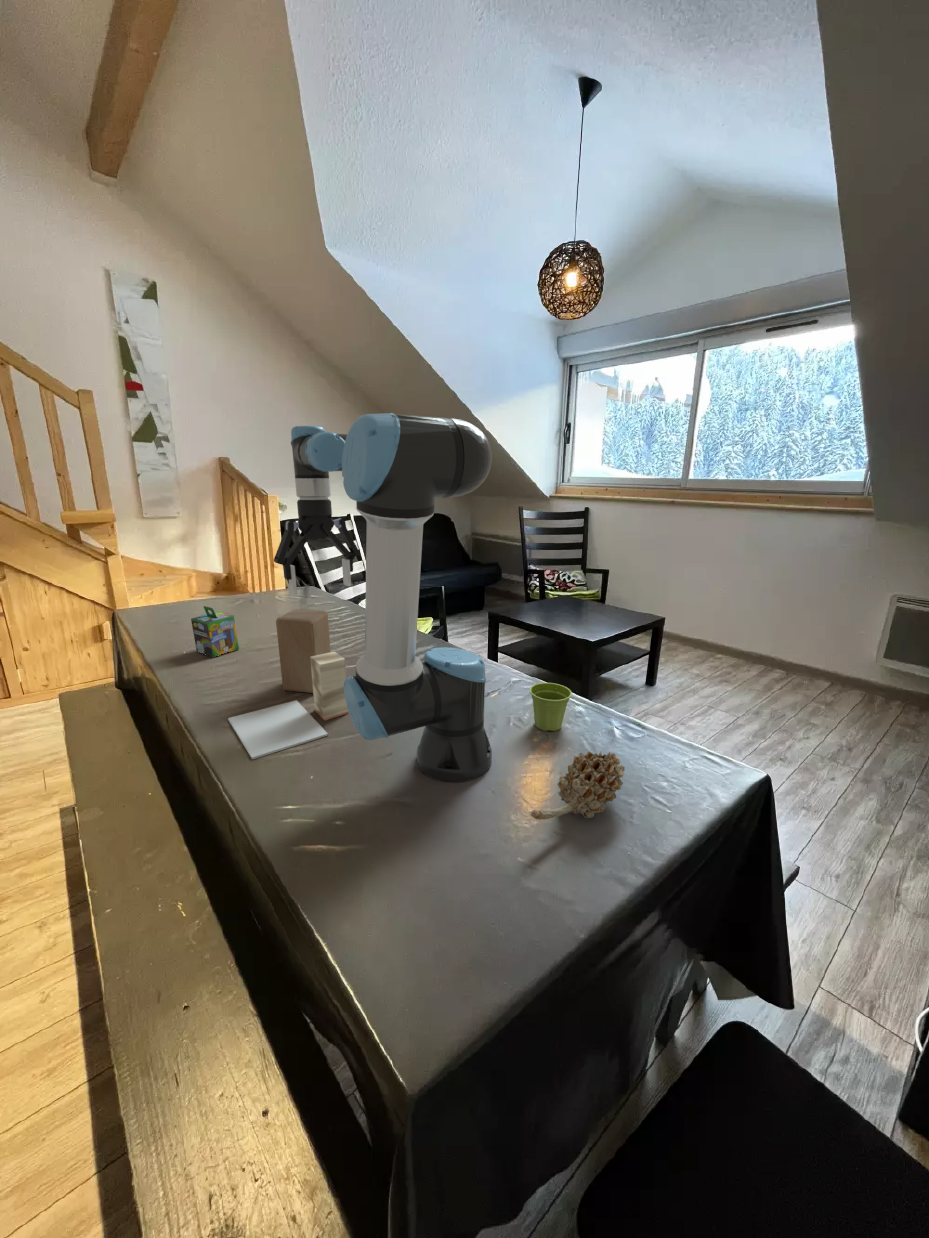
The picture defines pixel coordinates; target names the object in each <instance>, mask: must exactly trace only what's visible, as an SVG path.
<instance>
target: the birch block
mask: <svg viewBox="0 0 929 1238" xmlns="http://www.w3.org/2000/svg"><path fill="white" fill-rule="evenodd" d="M310 659H311V671H312V683H313V693H312V695H313V704H314V706H313V707H314V711H315V712H316V713H317V715H318V716H319V717H320V719H321V718H322V720H323V721H328V720H331V719H334V717H335V718H338V717H341V716H344V715H347V714H349V710H348V707H347V703H346V699H345V694H344V682H345V680H346V678H347V670H346V668H347V667H346V658H344V657H343V656H341V655H340V654H339V653H337V652H336V651H331V652H330V653H325V654H321V655H316V656H311V657H310Z"/></svg>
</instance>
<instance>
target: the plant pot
mask: <svg viewBox="0 0 929 1238" xmlns="http://www.w3.org/2000/svg"><path fill="white" fill-rule="evenodd" d="M572 692H573V691H572V690H571V689H570V688H568V687H567V686H565V685H562V684H558V683H553V682H539V683H536V684H533V685H531V686H530V688H529V693H530V695H531V699H532V705H533V718H534V725H535V727H536V728H537V729H539V730H542V731H545V732H547V731H552V732H556V731H558V730H560V729H561V728H562V726H563V721H564V717H565V713H566V709H567V705H568V703H569V701H570V699H571V697H572V695H573V693H572Z"/></svg>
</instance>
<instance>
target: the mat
mask: <svg viewBox="0 0 929 1238" xmlns="http://www.w3.org/2000/svg"><path fill="white" fill-rule="evenodd" d="M227 719H228V722H229V724H230V726H231V727H232V729H233V731H234V733H236V735H237V737H238V738H239V740H240V742H241V744H242V745H243V746H244V748H245V750H246V751H247V753H248V755H249V757H250V758H251V760H256V759H258V758H261V757H264V756H267V755H270V754H275V753H277V752H280V751H283V750H286V749H291V748H293V747H297V746H300V745H302V744H303V745H304V744H306V743H308V742H312V741H315V740H318V739H322V738H324V737H328V736H329V733H328V732H327V731H326V730H325V728H323V727H322V725H320V723H319V722H318V721H317V720H316V719H314V717H313V716H312V715H311V714H310V713H309V712H308V711H307V710H306V709H305V707H304V706H302V704H301V703H300V702H299V701H298V700H297V699H295V700H291V701H289V702H284V703H280V704H277V705H273V706H269V707H266V708H262V709H261V708H260V709H258V710H253V711H250V712H246V713H244V714H243V713H242V714H239V715H235V716H232V717H228V718H227Z"/></svg>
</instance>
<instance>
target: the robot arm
mask: <svg viewBox="0 0 929 1238" xmlns="http://www.w3.org/2000/svg"><path fill="white" fill-rule="evenodd" d="M290 431H291V433H290V435H291V436H290V437H291V439H290V440H291V441H290V445H291V451H292V462H293V472H294V483H295V492H296V497H297V498H299V499H297V500H296V505H297V515H298V521H296V522H295V521H290V520H287V521H285V522H284V532H283V535H282V537H281V540H280V542H279V545H278V547H277V550H276V553H275V556H274V557H273V558H274V559H273V562H274V563H275V564H278V565H282V567H283V578H284V580H286V581H288V587H289V589H288V590H289V593H290V594H293V595H297V594H298V589H297V579H296V578H297V577H296V566H295V565H293V564H292V563H293V562H294V561H295V559H296V557H298V555H299V553H300V552H301V551H302V549H303V548H304V546H305V544H307V542H308V541H316V540H317V541H318V540H326V539H327V540H328V541H329V542H330V543H331V544H332V545H333V546H334V547H335V548H336V549H337V551H339V553H340V554H341V555H342V556H344V558H341V567H342V569H341V570H342V580H343V581H342V582H343V583H342V584H343V585H344V586H346V587H352V580H351V578H352V577H351V572H352V573H353V571H354V562H353V561H354V560H355V558H356V557H358V556H360V555H361V553H360V550H359V549H358V547H357V545H356V543H355V540H353V537H352V536H351V534H350V532H349V530H348V528H347V524H346V519H345V518H341V517H337V518H336V519H333V511H332V501H331V500H330V498H329V497H331V483H330V473H331V472H341V476H342V478H343V481H342V483H343V487H344V490H345V493H346V495H347V497H348V498H349V499H350V500H353V501H354V502H356V503H355V507H356V511H357V512H358V513H359V514H360V515H361V516H362V517H363V518H364V519H365V521H366V536H365V537H366V543H365V544H366V545H365V546H366V547H365V614H364V615H365V618H364V619H365V621H364V623H365V626H364V627H365V629H364V654H363V655H362V656H361V657H359V658H358V660H357V661H356V663H355V676H353V675H350V676H349V677H346V680H345V682H344V694H345V699H346V703H347V707H348V714H349V715H350V718H351V720H352V723H353V725H354V727H355V729H356V731H357V733H358V734H359V735H360V736H361V737H362V738H363V739H365V740H367V741H373V740H378V739H384V738H385V739H388V738H389V737H391V736H395V735H398V734H401V733H405V732H409V731H412V730H415V729H420V728H424V729H423V732H422V735H421V739H420V742H419V744H418V746H417V749H416V764H417V766H418V768H419V770H420V771H422V772H423V774H425V775H426V776H428V777H430V778H432V779H434V780H438V781H441V782H450V783H455V782H456V783H458V782H466V781H471V780H473V779H476V778H479V777H480V776H483V775H484V774H485V773H486V772H488V771H489V769H490V768H491V765H492V758H493V756H492V755H493V753H492V752H493V750H492V746H491V744H490V740H489V737H488V735H487V731H486V729H485V701H486V700H485V699H486V698H485V695H486V693H485V691H486V681H487V678H486V665H485V662H484V660H483V659H482V658H481V656H479V655H478V654H476V653H474V652H472V651H470V650H466V649H462V648H457V647H444V646H443V647H442V646H441V647H434V648H430V649H427V651H425V652H424V656H423V661H422V660H421V659H420V658H419V657H418V656H416V650H417V649H416V648H417V632H418V631H417V630H418V616H419V601H420V600H419V599H420V586H421V585H420V584H421V565H422V551H423V534H424V524H425V523H426V522H427V521H428V520H430V519H431V518H432V517H434V514H435V503H436V499H445V498H448V499H449V498H457V497H461V496H462V497H463V496H465V495H467V494H470V493H472V492H473V491H475V490H477V489H478V488H479V487H481V485H482V484H483V483H484V482H485V480H486V479H487V478H488V475H489V473H490V471H491V467H492V461H493V456H492V455H493V453H492V449H491V445H490V442H489V440H488V438H487V436H486V434H484V433H483V431H482V430H481V429H480V428H479V427H477V426H476V425H474V424H472V423H471V422H468V421H466V420H464V419H459V418H455V417H438V416H427V415H426V416H425V415H411V414H399V413H393V412H390V413H388V412H386V413H366V414H362V415H361V416H359V417H358V418H356V419H355V421H353V423H352V424H351V427H350V428H349V430H348V432H347V433H335V432H332V431H326V429H325V428H324V427H322V426H317V425H297V426H296V425H295V426H293V427H292V428H291V430H290ZM329 472H330V473H329ZM334 526H335V528H336V529H337V530H338V532H339V534H340V536H341V537H342V539H343V541H344V543H345V545H346V546H345V545H344V543H342V542H341V541H340V540H339V538H338V537H337V535H335V533H334V532H333V531H332V530H333V528H334ZM297 528H298V530H299V531H300V533H299V535H298V536H297V538H296V541H294V543H293V544H292V546H291V548H290V549H289V547H290V544H291V541H292V540H293V539H292V538H293V536H294V533H295V531H296V530H297ZM288 549H289V550H288Z"/></svg>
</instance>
